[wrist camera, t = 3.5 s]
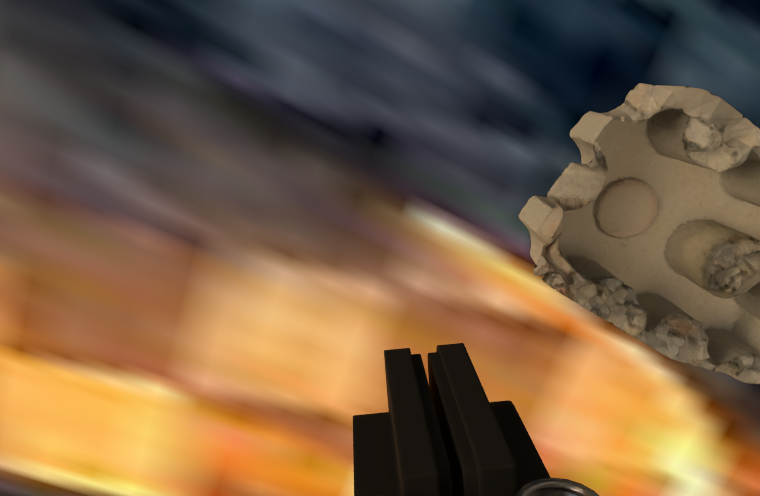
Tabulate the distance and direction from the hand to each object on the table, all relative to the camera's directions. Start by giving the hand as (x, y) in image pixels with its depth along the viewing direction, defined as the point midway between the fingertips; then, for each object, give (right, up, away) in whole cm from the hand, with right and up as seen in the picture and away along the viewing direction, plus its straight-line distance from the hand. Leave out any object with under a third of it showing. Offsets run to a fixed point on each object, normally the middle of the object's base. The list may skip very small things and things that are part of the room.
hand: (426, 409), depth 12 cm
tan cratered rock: (+10, +4, +10) cm, 14 cm away
